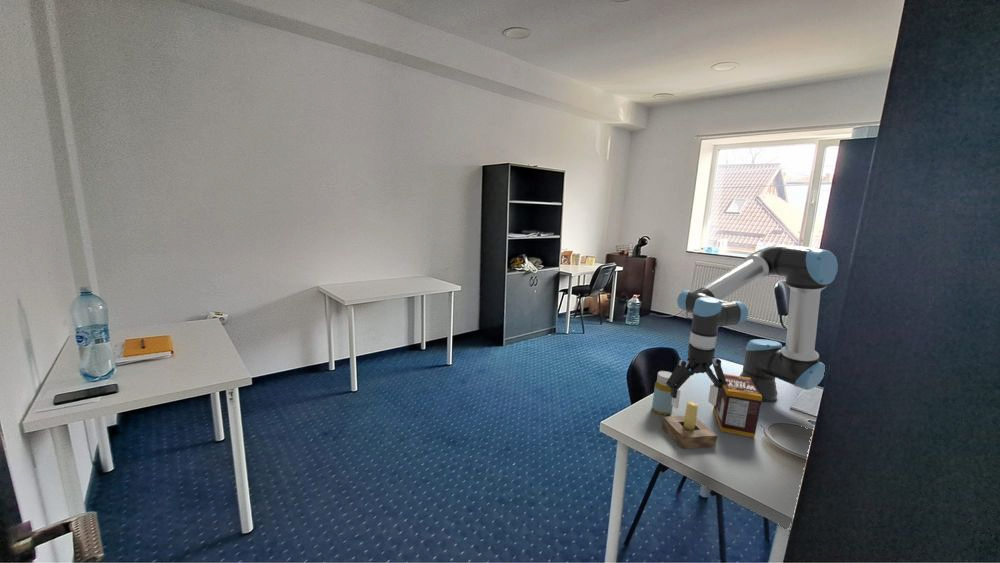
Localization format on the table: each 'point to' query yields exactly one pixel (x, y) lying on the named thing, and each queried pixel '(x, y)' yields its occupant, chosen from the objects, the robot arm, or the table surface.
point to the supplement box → (738, 406)
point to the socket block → (689, 433)
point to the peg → (690, 416)
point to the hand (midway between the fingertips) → (693, 404)
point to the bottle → (662, 394)
